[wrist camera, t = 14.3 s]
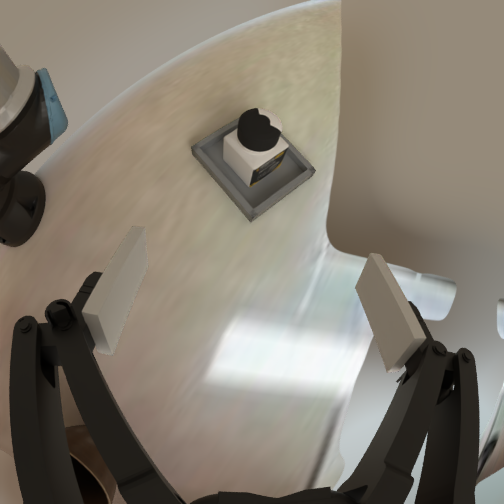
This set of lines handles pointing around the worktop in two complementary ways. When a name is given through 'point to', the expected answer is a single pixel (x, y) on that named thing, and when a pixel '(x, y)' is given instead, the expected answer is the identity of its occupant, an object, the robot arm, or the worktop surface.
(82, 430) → the plant pot
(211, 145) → the tray
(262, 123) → the medicine bottle
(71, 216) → the worktop surface
